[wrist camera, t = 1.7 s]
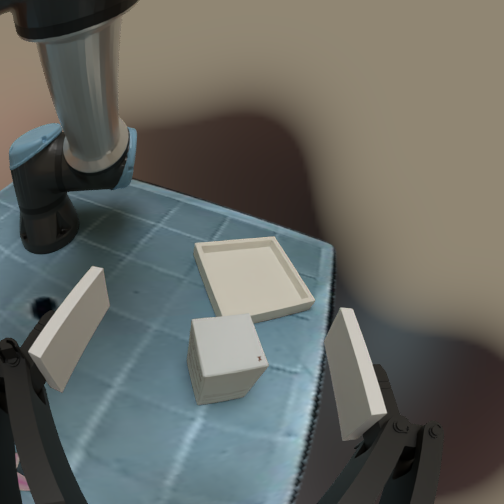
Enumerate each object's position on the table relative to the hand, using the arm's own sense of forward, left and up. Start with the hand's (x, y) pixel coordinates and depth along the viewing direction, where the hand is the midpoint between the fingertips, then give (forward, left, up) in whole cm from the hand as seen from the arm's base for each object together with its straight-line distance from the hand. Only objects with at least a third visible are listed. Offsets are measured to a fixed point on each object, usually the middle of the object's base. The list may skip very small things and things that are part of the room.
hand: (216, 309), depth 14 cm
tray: (-21, +18, -27) cm, 39 cm away
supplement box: (-4, +5, -27) cm, 28 cm away
